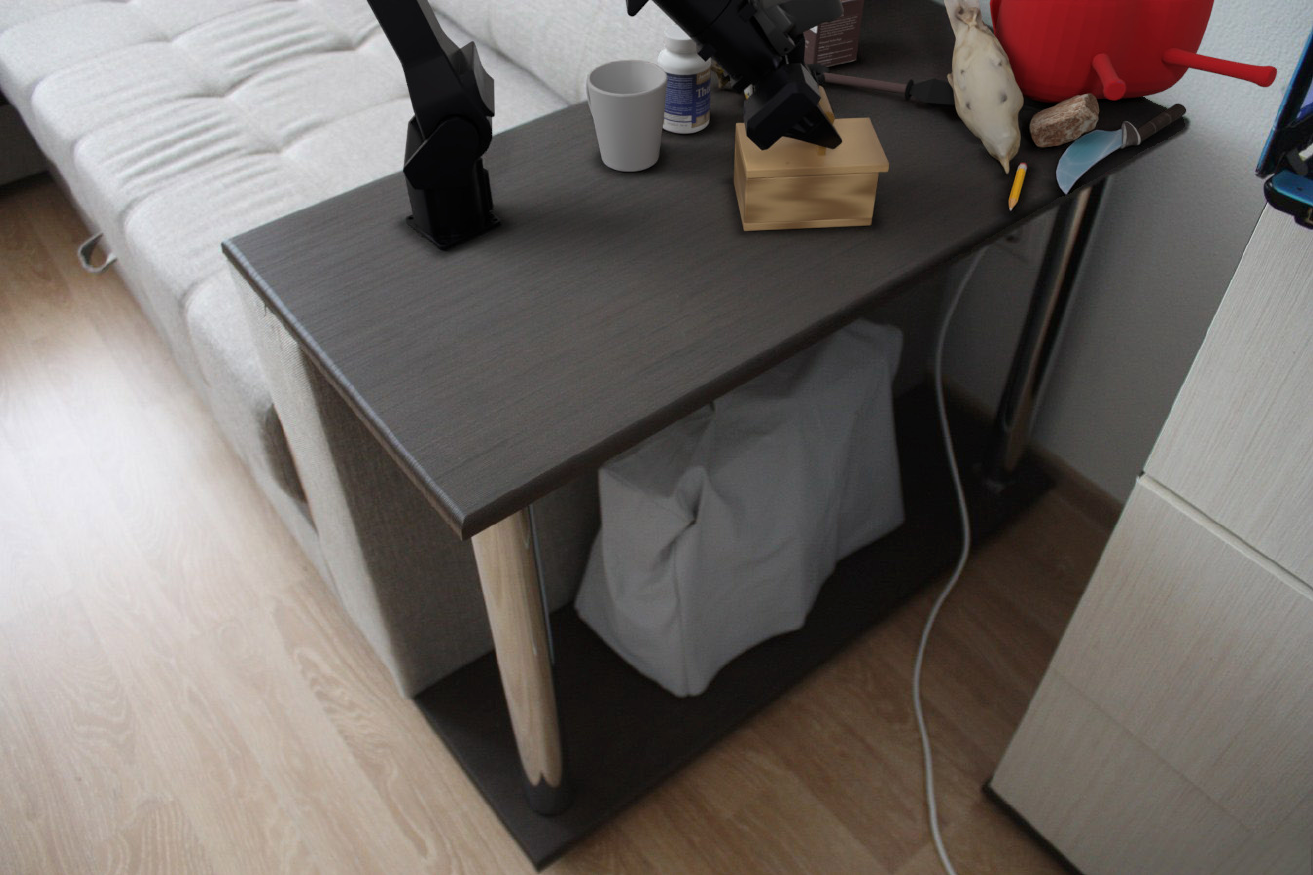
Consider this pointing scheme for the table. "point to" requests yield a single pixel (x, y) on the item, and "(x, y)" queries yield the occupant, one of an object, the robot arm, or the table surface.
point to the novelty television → (1108, 47)
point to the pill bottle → (685, 83)
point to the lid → (817, 151)
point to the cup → (628, 112)
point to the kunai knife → (898, 87)
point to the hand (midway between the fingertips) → (833, 130)
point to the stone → (1065, 121)
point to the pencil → (1017, 185)
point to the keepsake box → (803, 199)
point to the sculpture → (984, 82)
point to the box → (835, 37)
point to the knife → (1107, 145)
